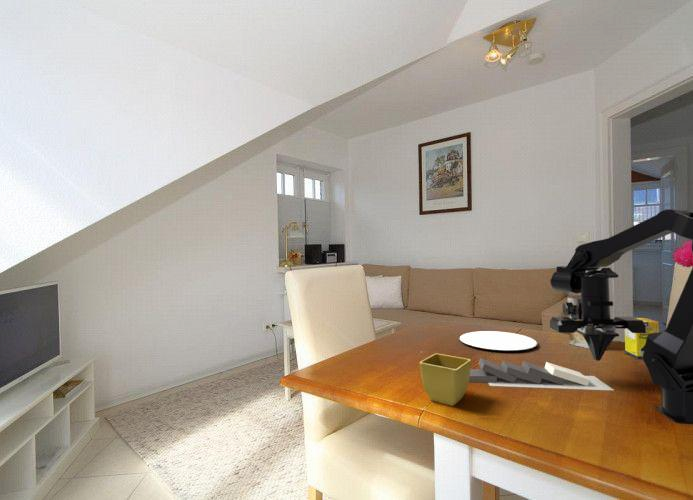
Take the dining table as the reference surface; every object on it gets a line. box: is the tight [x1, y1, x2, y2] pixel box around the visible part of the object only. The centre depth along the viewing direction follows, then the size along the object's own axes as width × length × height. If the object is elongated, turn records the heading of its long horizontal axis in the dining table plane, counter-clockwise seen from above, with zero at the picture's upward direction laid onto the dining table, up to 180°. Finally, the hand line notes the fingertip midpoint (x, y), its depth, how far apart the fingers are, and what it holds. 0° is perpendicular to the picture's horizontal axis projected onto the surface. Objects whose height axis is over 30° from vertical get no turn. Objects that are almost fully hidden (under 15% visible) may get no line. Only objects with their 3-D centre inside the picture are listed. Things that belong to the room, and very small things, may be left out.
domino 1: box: [469, 368, 497, 384], centre depth 89 cm, size 5×2×8 cm
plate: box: [459, 330, 538, 352], centre depth 123 cm, size 25×25×2 cm
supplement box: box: [624, 317, 660, 360], centre depth 104 cm, size 6×6×11 cm
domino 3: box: [500, 360, 542, 384], centre depth 88 cm, size 5×2×8 cm
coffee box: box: [567, 295, 609, 350], centre depth 116 cm, size 9×6×16 cm
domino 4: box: [521, 360, 564, 385], centre depth 87 cm, size 5×2×8 cm
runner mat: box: [488, 375, 615, 391], centre depth 87 cm, size 9×27×1 cm, turn 80°
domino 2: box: [477, 357, 516, 383], centre depth 89 cm, size 5×2×8 cm
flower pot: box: [419, 352, 472, 407], centre depth 78 cm, size 9×9×9 cm
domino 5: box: [544, 361, 590, 386], centre depth 86 cm, size 5×2×8 cm
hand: (597, 360), depth 84 cm, fingers closed
